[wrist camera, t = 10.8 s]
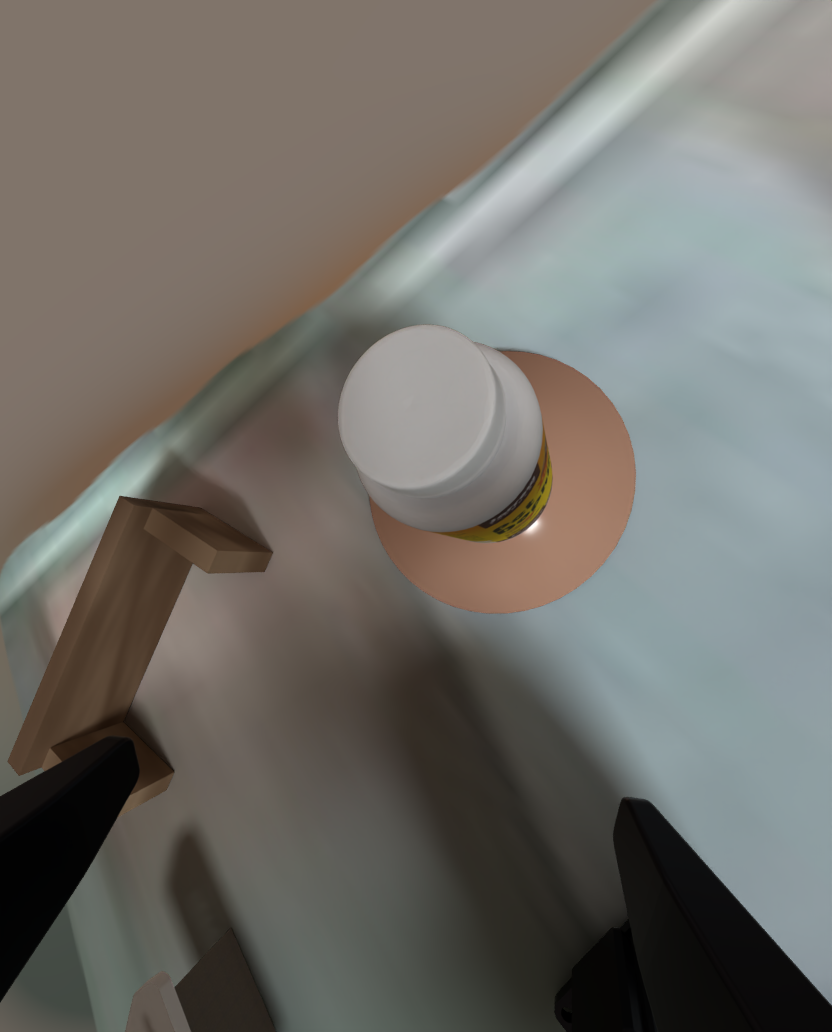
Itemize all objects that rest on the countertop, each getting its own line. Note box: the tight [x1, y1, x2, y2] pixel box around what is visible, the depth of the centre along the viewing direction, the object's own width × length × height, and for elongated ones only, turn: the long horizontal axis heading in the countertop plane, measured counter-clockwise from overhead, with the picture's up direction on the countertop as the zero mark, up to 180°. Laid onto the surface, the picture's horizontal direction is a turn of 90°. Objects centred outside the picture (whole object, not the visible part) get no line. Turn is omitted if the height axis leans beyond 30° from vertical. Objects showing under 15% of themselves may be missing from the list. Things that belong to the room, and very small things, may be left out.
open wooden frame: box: [8, 496, 273, 817], centre depth 23 cm, size 6×15×5 cm, turn 153°
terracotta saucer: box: [370, 351, 636, 613], centre depth 20 cm, size 12×12×1 cm
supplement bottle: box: [338, 324, 553, 543], centre depth 15 cm, size 6×6×10 cm
